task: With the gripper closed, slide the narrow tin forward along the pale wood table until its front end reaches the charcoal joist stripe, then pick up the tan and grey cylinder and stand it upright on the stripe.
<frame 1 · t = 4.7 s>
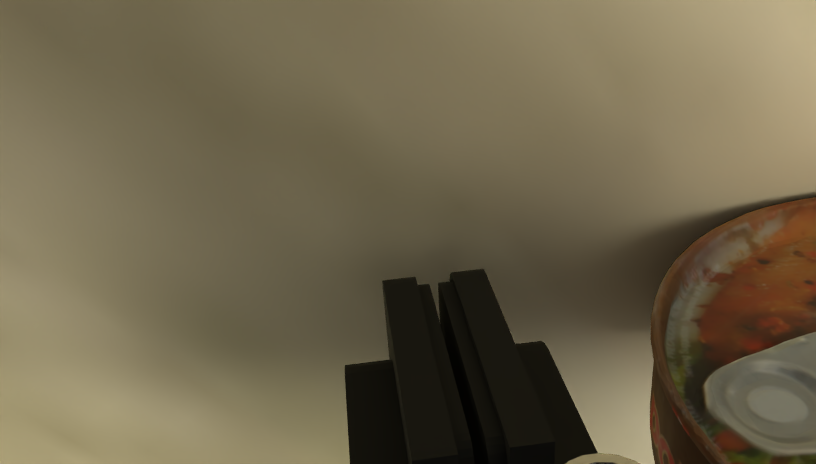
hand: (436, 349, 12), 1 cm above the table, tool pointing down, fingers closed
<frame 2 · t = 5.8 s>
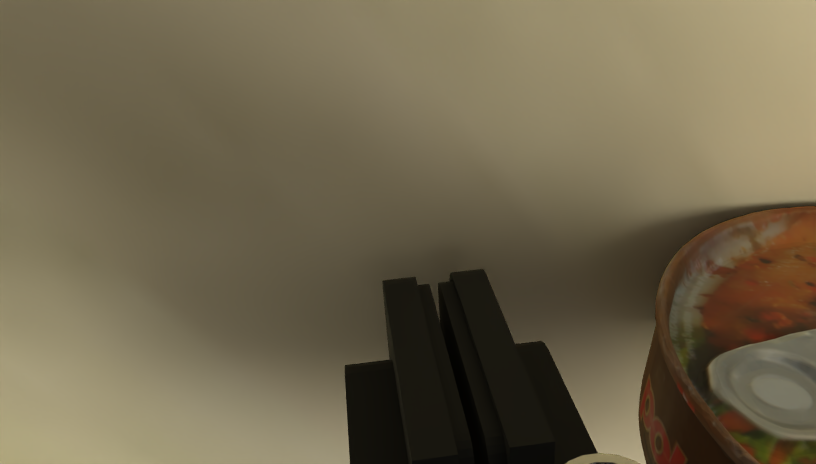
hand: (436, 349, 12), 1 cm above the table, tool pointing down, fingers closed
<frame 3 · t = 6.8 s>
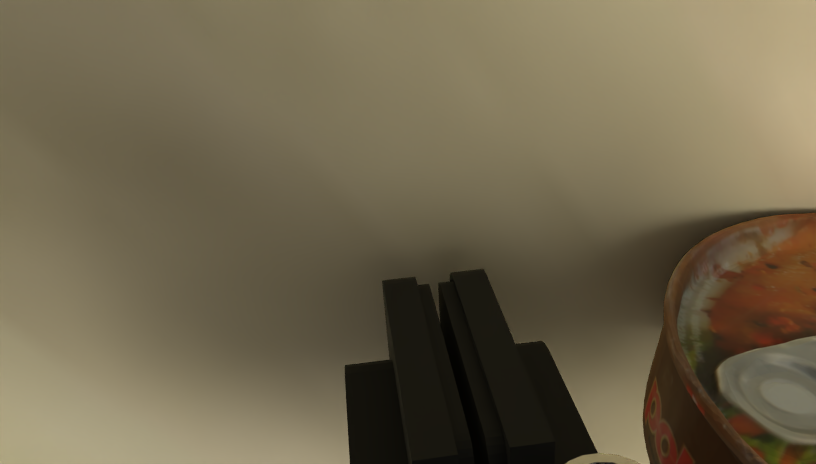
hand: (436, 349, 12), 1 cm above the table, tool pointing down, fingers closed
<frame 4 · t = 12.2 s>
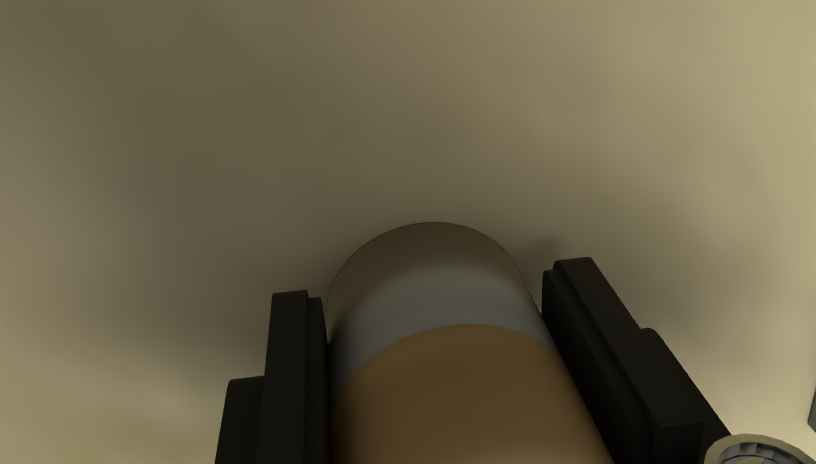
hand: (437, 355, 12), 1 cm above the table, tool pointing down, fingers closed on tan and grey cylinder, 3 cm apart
tan and grey cylinder: (427, 312, 13), on the table, touching gripper
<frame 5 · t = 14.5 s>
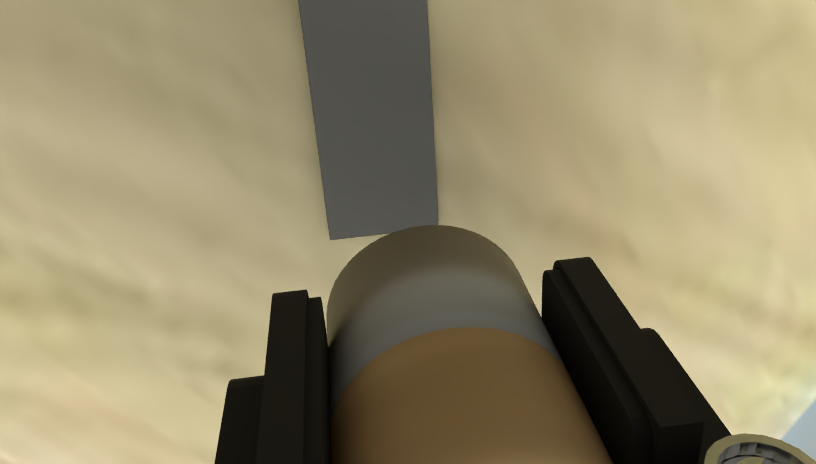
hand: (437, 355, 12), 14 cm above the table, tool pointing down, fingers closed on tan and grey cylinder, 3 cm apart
tan and grey cylinder: (427, 314, 13), point 13 cm above the table, touching gripper
when the fingers open (3 cm above the table, at t = 16.7 s): tan and grey cylinder drops 1 cm, resting on joist stripe.
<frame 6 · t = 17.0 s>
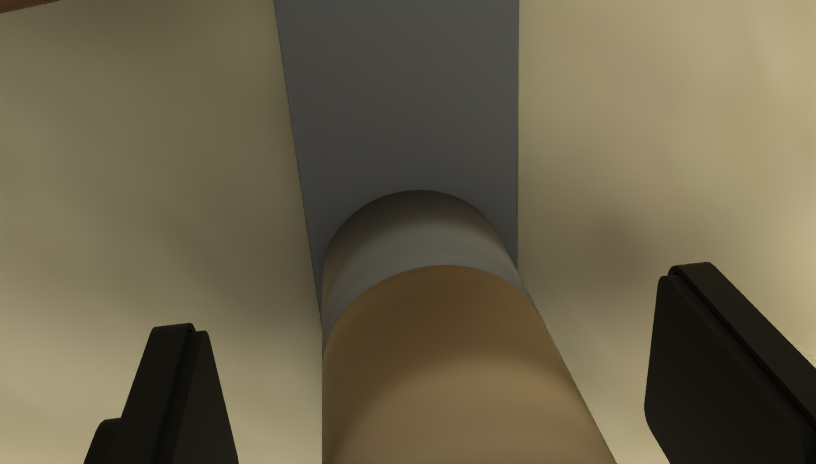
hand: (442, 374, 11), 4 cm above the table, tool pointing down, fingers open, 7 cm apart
tan and grey cylinder: (414, 275, 14), resting on joist stripe
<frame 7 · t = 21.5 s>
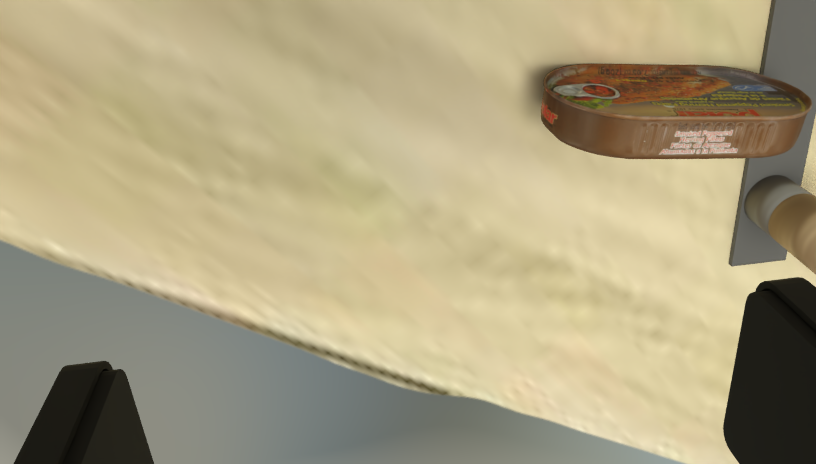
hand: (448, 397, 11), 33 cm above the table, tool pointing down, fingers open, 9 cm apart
joist stripe: (782, 112, 46), on the table
tan and grey cylinder: (769, 199, 49), resting on joist stripe
tin: (640, 88, 45), on the table
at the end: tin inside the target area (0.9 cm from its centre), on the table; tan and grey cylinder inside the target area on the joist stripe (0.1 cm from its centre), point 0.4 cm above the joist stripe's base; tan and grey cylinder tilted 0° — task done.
